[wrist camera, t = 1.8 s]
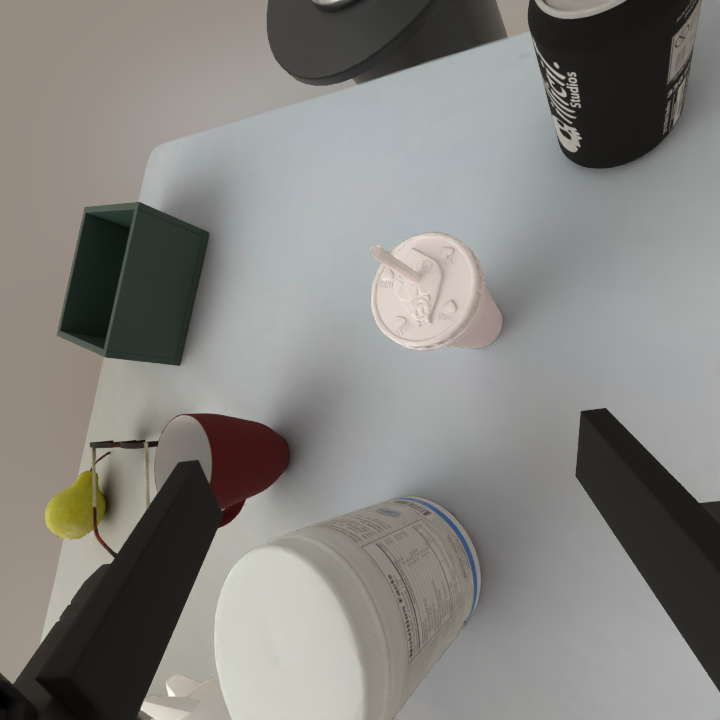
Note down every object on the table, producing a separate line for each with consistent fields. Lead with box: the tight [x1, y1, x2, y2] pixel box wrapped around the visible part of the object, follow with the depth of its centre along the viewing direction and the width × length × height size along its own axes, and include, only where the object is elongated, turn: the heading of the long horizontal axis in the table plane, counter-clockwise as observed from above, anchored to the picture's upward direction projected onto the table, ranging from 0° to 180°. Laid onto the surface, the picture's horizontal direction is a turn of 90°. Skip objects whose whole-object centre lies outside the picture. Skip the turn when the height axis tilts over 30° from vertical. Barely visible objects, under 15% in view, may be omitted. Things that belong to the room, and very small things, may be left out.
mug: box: [154, 414, 289, 528], centre depth 35 cm, size 11×8×10 cm
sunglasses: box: [90, 440, 159, 558], centre depth 49 cm, size 14×16×5 cm
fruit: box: [45, 452, 110, 539], centre depth 55 cm, size 7×7×12 cm
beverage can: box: [528, 0, 702, 168], centre depth 20 cm, size 7×7×12 cm
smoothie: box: [370, 232, 503, 350], centre depth 23 cm, size 6×6×14 cm
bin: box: [57, 202, 209, 366], centre depth 51 cm, size 18×16×9 cm
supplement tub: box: [214, 496, 481, 720], centre depth 23 cm, size 10×10×15 cm
